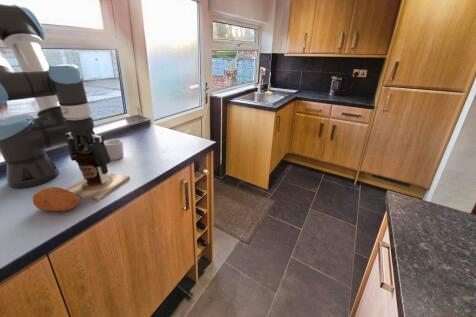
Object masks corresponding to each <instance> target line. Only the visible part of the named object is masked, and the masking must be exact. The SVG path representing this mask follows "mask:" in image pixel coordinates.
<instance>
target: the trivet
mask: <svg viewBox="0 0 476 317" xmlns="http://www.w3.org/2000/svg"><path fill="white" fill-rule="evenodd" d="M108 176H109V180H108V181H107V182H106V183H104V184H101V185H97V186H89V185H87V180H84V179H83V178H82V179H81V180H79V181H77V182H75V183H74V184H72V185H71V186H68V187H67V188H65V190H68V191H70V192H73V193H75V194H77V195H78V196H79V198H82V199H87V200H93V201H97V202H99V201H101V200H102V199H104V198H105V197H107V196H108V195H110V194H111V193H112V192H114V191H115V190H116V189H118V188H119V187H121V186H122V185H123V184H125V183H126V182H128V181H129V180H131V178H130V177H131V176H129V175H124V174H119V173H111V172H108Z"/></svg>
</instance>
